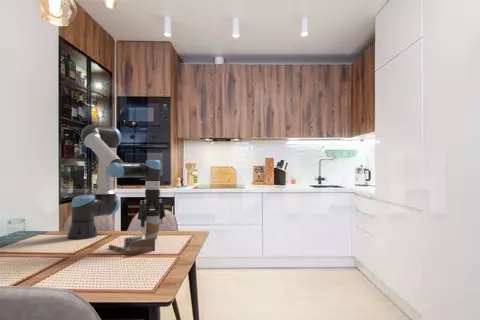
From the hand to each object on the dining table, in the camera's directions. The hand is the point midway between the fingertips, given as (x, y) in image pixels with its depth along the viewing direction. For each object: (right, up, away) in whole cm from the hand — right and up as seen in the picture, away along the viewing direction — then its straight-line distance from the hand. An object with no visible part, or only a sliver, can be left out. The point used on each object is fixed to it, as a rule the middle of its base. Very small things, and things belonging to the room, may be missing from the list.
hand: (151, 231), depth 170 cm
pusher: (-3, -5, -17) cm, 18 cm away
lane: (-5, -5, -15) cm, 17 cm away
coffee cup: (0, -4, 0) cm, 4 cm away
